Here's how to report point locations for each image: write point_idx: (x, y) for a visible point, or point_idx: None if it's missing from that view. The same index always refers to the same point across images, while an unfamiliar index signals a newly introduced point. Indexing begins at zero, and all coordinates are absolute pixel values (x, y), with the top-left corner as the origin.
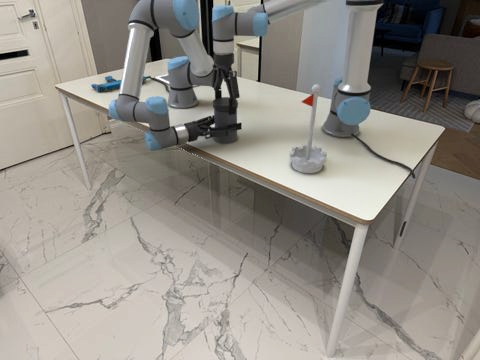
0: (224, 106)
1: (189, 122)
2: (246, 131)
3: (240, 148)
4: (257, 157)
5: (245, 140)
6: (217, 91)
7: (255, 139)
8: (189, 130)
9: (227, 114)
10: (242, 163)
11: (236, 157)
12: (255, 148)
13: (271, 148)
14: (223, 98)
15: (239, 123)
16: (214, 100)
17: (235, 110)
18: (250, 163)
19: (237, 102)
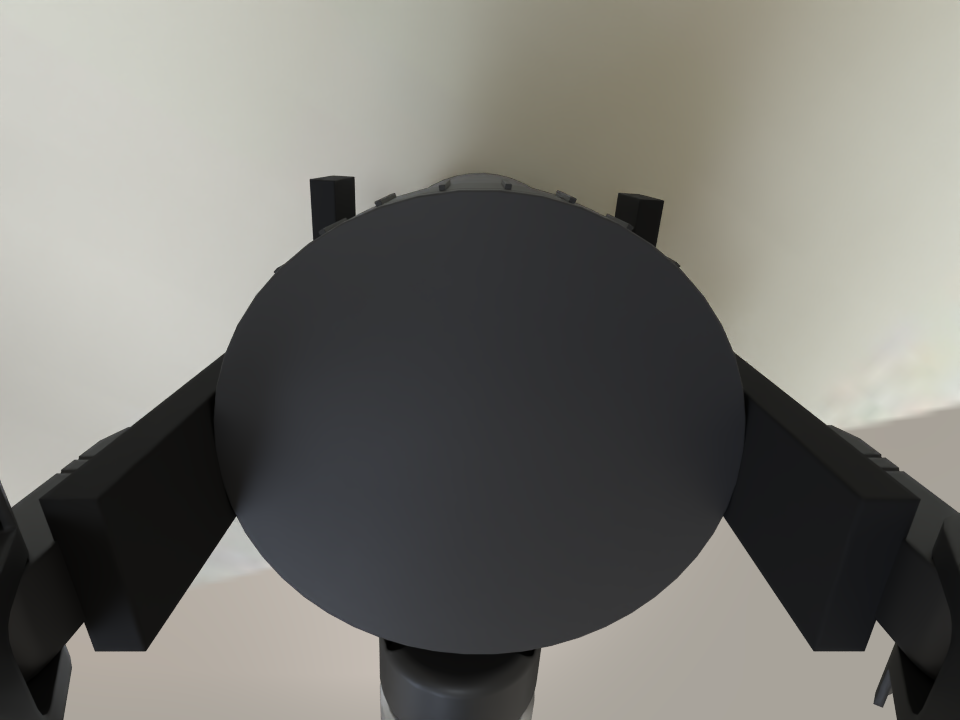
0: (670, 572)
1: (433, 709)
2: (460, 5)
3: (711, 278)
4: (924, 250)
5: (623, 149)
6: (138, 604)
7: (671, 43)
8: (524, 710)
9: None
10: (892, 391)
11: (797, 380)
12: (805, 166)
13: (923, 26)
14: (301, 410)
15: (653, 232)
16: (324, 588)
17: (737, 363)
18: (939, 347)
19: (678, 270)
